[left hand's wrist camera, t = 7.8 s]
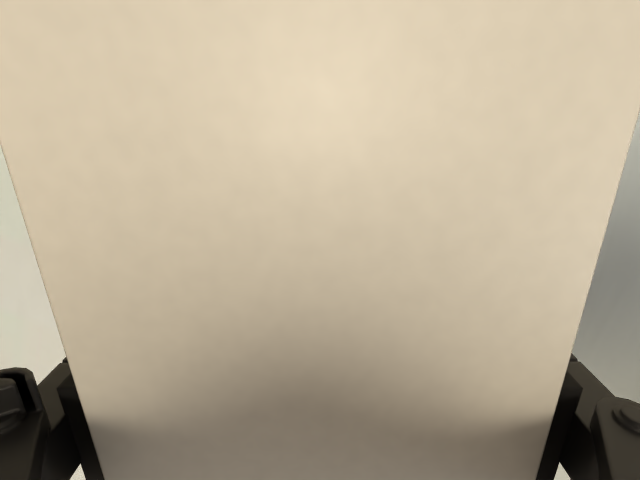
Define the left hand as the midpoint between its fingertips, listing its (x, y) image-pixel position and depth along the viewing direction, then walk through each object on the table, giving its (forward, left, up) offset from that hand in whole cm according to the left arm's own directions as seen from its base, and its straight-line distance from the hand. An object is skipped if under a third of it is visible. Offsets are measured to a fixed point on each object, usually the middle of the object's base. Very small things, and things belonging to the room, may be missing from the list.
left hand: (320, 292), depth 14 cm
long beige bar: (+24, -11, -1) cm, 27 cm away
